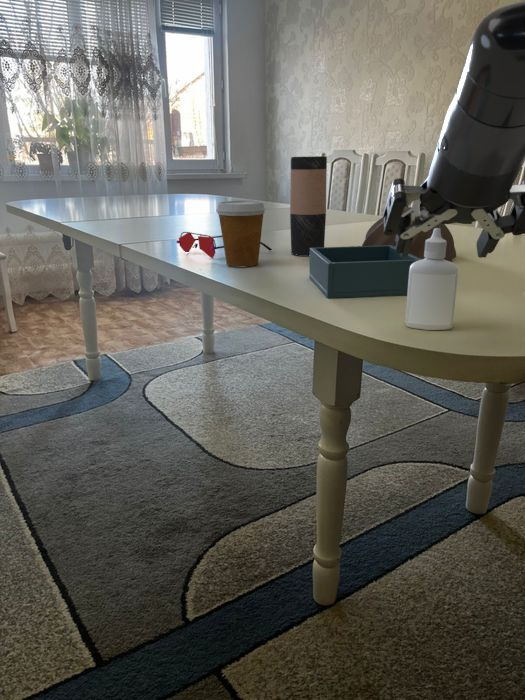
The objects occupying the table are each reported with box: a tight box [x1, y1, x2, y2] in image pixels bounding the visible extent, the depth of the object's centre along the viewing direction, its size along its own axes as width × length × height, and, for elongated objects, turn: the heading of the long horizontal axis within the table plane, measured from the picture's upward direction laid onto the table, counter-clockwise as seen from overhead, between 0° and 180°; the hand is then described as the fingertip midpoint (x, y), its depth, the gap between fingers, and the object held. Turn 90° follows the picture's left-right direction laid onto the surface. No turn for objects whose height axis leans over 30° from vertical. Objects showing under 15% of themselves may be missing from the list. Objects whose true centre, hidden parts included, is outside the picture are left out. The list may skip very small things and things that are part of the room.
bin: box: [308, 245, 422, 299], centre depth 88 cm, size 15×15×5 cm
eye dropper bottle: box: [404, 228, 459, 331], centre depth 66 cm, size 4×6×12 cm
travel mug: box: [289, 155, 328, 256], centre depth 115 cm, size 8×8×20 cm
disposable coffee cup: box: [215, 200, 267, 267], centre depth 106 cm, size 10×10×12 cm
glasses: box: [175, 231, 273, 259], centre depth 121 cm, size 14×16×5 cm
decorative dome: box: [361, 206, 457, 263], centre depth 112 cm, size 19×20×10 cm
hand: (441, 251), depth 61 cm, fingers open, 8 cm apart
